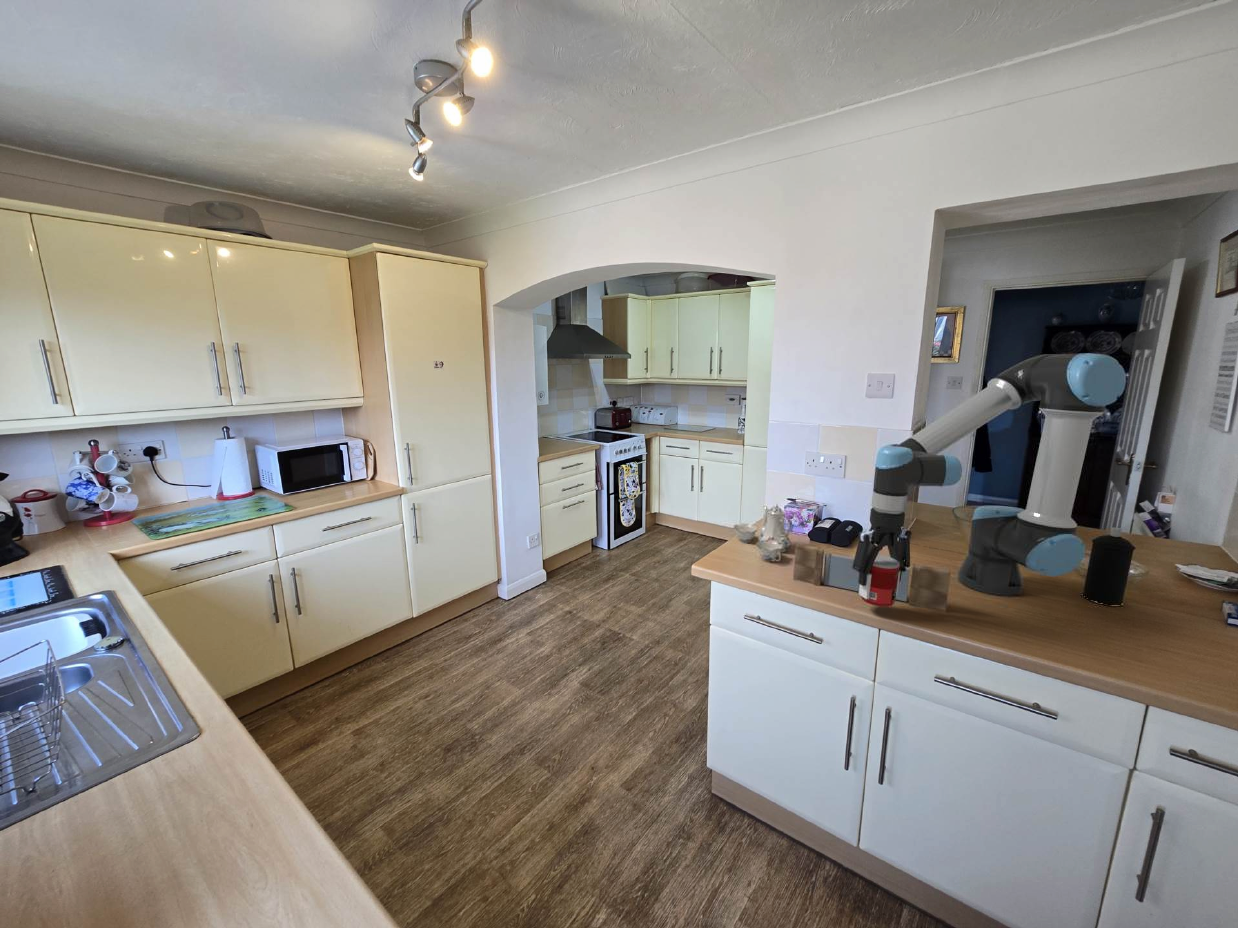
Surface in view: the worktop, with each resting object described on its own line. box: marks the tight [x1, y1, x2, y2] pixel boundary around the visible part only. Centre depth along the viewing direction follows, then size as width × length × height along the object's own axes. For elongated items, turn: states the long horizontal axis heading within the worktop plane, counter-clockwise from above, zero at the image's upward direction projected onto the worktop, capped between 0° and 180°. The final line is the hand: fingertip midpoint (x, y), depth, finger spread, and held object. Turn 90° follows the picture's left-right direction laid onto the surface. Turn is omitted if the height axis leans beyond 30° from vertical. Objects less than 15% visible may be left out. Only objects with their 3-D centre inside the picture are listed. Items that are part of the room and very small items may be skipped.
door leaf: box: [822, 552, 911, 602], centre depth 137 cm, size 21×2×9 cm, turn 58°
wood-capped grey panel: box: [792, 543, 952, 613], centre depth 137 cm, size 38×3×10 cm, turn 58°
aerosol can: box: [1081, 527, 1136, 606], centre depth 131 cm, size 8×8×20 cm
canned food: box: [860, 554, 900, 608], centre depth 126 cm, size 8×8×11 cm
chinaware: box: [733, 503, 791, 563], centre depth 170 cm, size 28×17×17 cm, turn 16°
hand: (878, 594), depth 127 cm, fingers closed on canned food, 8 cm apart
